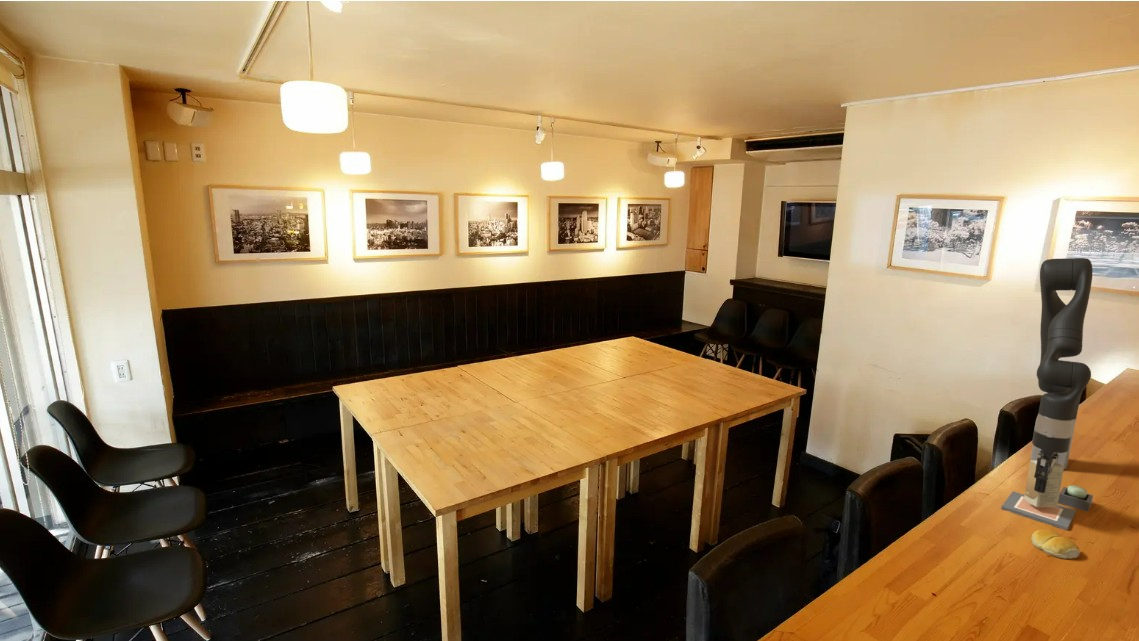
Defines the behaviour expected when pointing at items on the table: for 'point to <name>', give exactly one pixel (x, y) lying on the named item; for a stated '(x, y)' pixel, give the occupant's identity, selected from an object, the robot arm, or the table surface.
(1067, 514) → the picture board
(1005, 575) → the table surface
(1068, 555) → the bread roll
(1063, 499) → the button housing
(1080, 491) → the button
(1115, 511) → the table surface
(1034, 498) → the skincare box
